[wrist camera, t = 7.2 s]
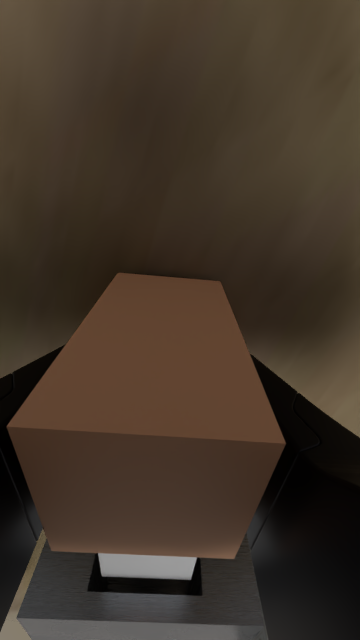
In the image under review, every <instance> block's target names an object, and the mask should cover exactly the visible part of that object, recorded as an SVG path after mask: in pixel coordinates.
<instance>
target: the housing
mask: <svg viewBox="0 0 360 640" xmlns="http://www.w3.org/2000/svg"><path fill="white" fill-rule="evenodd" d="M17 620H18V621H19V622H20V624H21V625H22V626H23V628H24V629H25V630H26V632H27V633H28V635H29V636H30V638H31V639H32V640H253V639H254V638H255V637H256V636H257V635H258V633H259V632H260V631H261V630H262V629H263V627H264V622H263V617H262V611H261V606H260V601H259V595H258V590H257V585H256V579H255V574H254V569H253V563H252V558H251V553H250V547H249V542H248V538H247V533H246V534H245V536H244V538H243V541H242V543H241V545H240V547H239V550H238V552H237V554H236V556H235V558H234V559H222V558H199V557H197V559H196V563H195V566H194V570H193V573H192V577H191V580H176V579H151V578H126V577H102V574H101V568H100V562H99V556H98V553H82V552H59V551H51V548H50V546H49V543H48V540H47V539H46V542H45V544H44V547H43V550H42V552H41V555H40V557H39V560H38V563H37V565H36V568H35V571H34V573H33V576H32V579H31V581H30V584H29V586H28V589H27V592H26V594H25V597H24V600H23V602H22V605H21V607H20V610H19V613H18V615H17Z"/></svg>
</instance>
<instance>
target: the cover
mask: <svg viewBox="0 0 360 640" xmlns="http://www.w3.org/2000/svg"><path fill="white" fill-rule="evenodd" d="M7 429H8V432H9V435H10V438H11V440H12V443H13V446H14V449H15V452H16V454H17V457H18V460H19V463H20V465H21V468H22V471H23V474H24V476H25V479H26V482H27V485H28V488H29V490H30V493H31V496H32V499H33V501H34V504H35V507H36V510H37V512H38V515H39V518H40V521H41V524H42V526H43V529H44V532H45V535H46V537H47V540H48V543H49V546H50V548H51V551H59V552H82V553H98V556H99V562H100V568H101V574H102V577H126V578H151V579H176V580H191V577H192V573H193V570H194V566H195V563H196V559H197V557H199V558H222V559H234V558H235V556H236V554H237V552H238V550H239V547H240V545H241V543H242V541H243V538H244V536H245V534H246V532H247V529H248V527H249V525H250V523H251V521H252V518H253V516H254V514H255V512H256V509H257V507H258V505H259V503H260V500H261V498H262V496H263V494H264V491H265V489H266V487H267V485H268V483H269V480H270V478H271V476H272V474H273V471H274V469H275V467H276V465H277V462H278V460H279V458H280V456H281V453H282V451H283V449H284V447H285V445H286V442H285V440H284V437H283V435H282V433H281V430H280V428H279V425H278V423H277V420H276V418H275V415H274V413H273V410H272V408H271V405H270V403H269V400H268V398H267V395H266V393H265V391H264V388H263V386H262V383H261V381H260V378H259V376H258V373H257V371H256V368H255V366H254V363H253V361H252V358H251V356H250V353H249V351H248V349H247V346H246V344H245V341H244V339H243V336H242V334H241V331H240V329H239V326H238V324H237V321H236V319H235V316H234V314H233V312H232V309H231V307H230V304H229V302H228V299H227V297H226V294H225V292H224V289H223V287H222V284H221V282H220V281H211V280H199V279H188V278H176V277H164V276H152V275H140V274H128V273H117V275H116V276H115V277H114V279H113V280H112V281H111V283H110V284H109V286H108V287H107V288H106V290H105V291H104V292H103V294H102V295H101V297H100V298H99V299H98V301H97V302H96V304H95V305H94V306H93V308H92V309H91V310H90V312H89V313H88V315H87V316H86V317H85V319H84V320H83V322H82V323H81V324H80V326H79V327H78V328H77V330H76V331H75V333H74V334H73V335H72V337H71V338H70V339H69V341H68V342H67V344H66V345H65V346H64V348H63V349H62V351H61V352H60V353H59V355H58V356H57V357H56V359H55V360H54V362H53V363H52V364H51V366H50V367H49V368H48V370H47V371H46V373H45V374H44V375H43V377H42V378H41V380H40V381H39V382H38V384H37V385H36V386H35V388H34V389H33V391H32V392H31V393H30V395H29V396H28V397H27V399H26V400H25V402H24V403H23V404H22V406H21V407H20V409H19V410H18V411H17V413H16V414H15V415H14V417H13V418H12V420H11V421H10V422H9V424H8V425H7Z"/></svg>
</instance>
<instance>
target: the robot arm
mask: <svg viewBox="0 0 360 640" xmlns="http://www.w3.org/2000/svg"><path fill="white" fill-rule="evenodd" d="M64 346H65V345H64ZM64 346H62V347H60V348H58V349H56V350H54V351H52V352H50V353H48V354H47V355H45V356H43V357H41V358H39V359H37V360H35V361H33V362H31V363H29V364H27V365H26V366H24V367H22V368H20V369H18V370H16V371H14V372H13V375H12V374H11V373H10V374H8V375H6V376H5V377H3V378H1V379H0V631H1V628H2V626H3V624H4V621H5V619H6V616H7V614H8V612H9V609H10V607H11V604H12V602H13V599H14V597H15V594H16V592H17V590H18V587H19V585H20V582H21V580H22V577H23V575H24V573H25V570H26V568H27V565H28V563H29V560H30V558H31V555H32V553H33V551H34V548H35V546H36V541H37V540H38V538H39V536H40V533H41V531H42V528H43V526H42V524H41V521H40V518H39V515H38V512H37V510H36V507H35V504H34V501H33V499H32V496H31V493H30V490H29V488H28V485H27V482H26V479H25V476H24V474H23V471H22V468H21V465H20V463H19V460H18V457H17V454H16V452H15V449H14V446H13V443H12V440H11V438H10V435H9V432H8V429H7V425H8V424H9V422H10V421H11V420H12V418H13V417H14V415H15V414H16V413H17V411H18V410H19V409H20V407H21V406H22V404H23V403H24V402H25V400H26V399H27V397H28V396H29V395H30V393H31V392H32V391H33V389H34V388H35V386H36V385H37V384H38V382H39V381H40V380H41V378H42V377H43V375H44V374H45V373H46V371H47V370H48V368H49V367H50V366H51V364H52V363H53V362H54V360H55V359H56V357H57V356H58V355H59V353H60V352H61V351H62V349H63V348H64ZM250 356H251V358H252V361H253V363H254V366H255V368H256V371H257V373H258V376H259V378H260V381H261V383H262V386H263V388H264V391H265V393H266V395H267V398H268V400H269V403H270V405H271V408H272V410H273V413H274V415H275V418H276V420H277V423H278V425H279V428H280V430H281V433H282V435H283V437H284V440H285V442H286V445H285V447H284V449H283V451H282V453H281V456H280V458H279V460H278V462H277V465H276V467H275V469H274V471H273V474H272V476H271V478H270V480H269V483H268V485H267V487H266V489H265V491H264V494H263V496H262V498H261V500H260V503H259V505H258V507H257V509H256V512H255V514H254V516H253V518H252V521H251V523H250V525H249V527H248V529H247V532H246V533H247V538H248V542H249V547H250V550H251V558H252V563H253V567H254V572H255V577H256V582H257V587H258V592H259V597H260V602H261V606H262V611H263V616H264V621H265V626H266V631H267V636H268V640H360V438H359V437H358V436H356V435H355V434H353V433H352V432H351V431H349V430H348V429H346V428H345V427H343V426H342V425H341V424H339V423H338V422H336V421H335V420H334V419H332V418H331V417H329V416H328V415H327V414H325V413H324V412H323V411H321V410H320V409H319V408H317V407H316V406H315V405H314V404H312V403H311V402H310V401H308V400H307V399H306V398H305V397H303V396H302V395H301V394H300V393H298V392H297V391H296V390H295V389H293V388H292V387H291V386H290V385H288V384H287V383H286V382H285V381H283V380H282V379H281V378H280V377H278V376H277V375H276V374H275V373H274V372H272V371H271V370H270V369H269V368H267V367H266V366H265V365H264V364H262V363H261V362H260V361H259V360H257V359H256V358H255V357H254V356H252V355H251V354H250ZM297 393H298V394H297Z"/></svg>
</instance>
